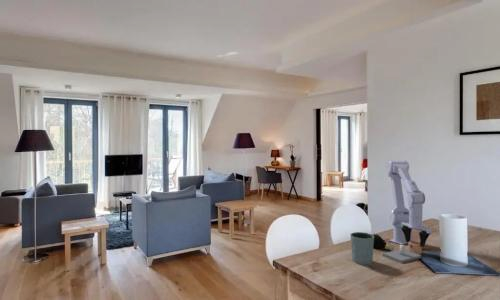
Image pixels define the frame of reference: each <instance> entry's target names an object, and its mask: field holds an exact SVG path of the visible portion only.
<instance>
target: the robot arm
mask: <svg viewBox="0 0 500 300" xmlns="http://www.w3.org/2000/svg"><path fill="white" fill-rule="evenodd" d="M409 164H410V163H409V162H408V161H407V160H389V161H388V162H387V165H386V170H387V176H388V177H389V178H390V179H391V180H390V181H391V186H392V187H391V188H392V193H393V194H392V196H393V203H394V207H393V209H391V210H390V212H389V220H390V223H391V225H393V229H392V230H393V232H392V233H393V238H391V239H389V242H392V243H397V244H399V245H407V244H408V245H409V241H413V230H416V231H419V232H418V236H419V241H420V246H421V247H422V248H423V247H425V246H426V243H427V239H428V238H429V236H430V235H431V233H432V228H430V227H427V226H424V225H423V205H424V204H425V202H426V195H425V193H424V192H423V191H422V190H420V189H419V187H418V186H417V184H416V182H415V181H414V180H412V178H411V176H410V173H409V170H410V165H409ZM402 182H403V183H402ZM403 188H404V190H405V192H406V194H407V197H406V199H407V204H408V208H407V207H406V206H405V199H404V198H405V197H404V193H403V191H404V190H403Z"/></svg>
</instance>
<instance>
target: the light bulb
mask: <svg viewBox="0 0 500 300" xmlns="http://www.w3.org/2000/svg"><path fill="white" fill-rule="evenodd" d="M372 235H373V236H374V244H373V249H374V248H376V249H386V250H387V251H389V252H391V251H394V246H393V245H391V244H389V243H388V242H386V241H385V239H384V238H382V237H381V236H380V235H379V234H372Z"/></svg>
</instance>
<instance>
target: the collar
mask: <svg viewBox="0 0 500 300" xmlns="http://www.w3.org/2000/svg"><path fill="white" fill-rule="evenodd" d="M407 248H408V250H407V251H410V252H413V253H416V254H419V255H422V254H421V253H422V251H423V250H422V249H423V247H421V246H420V242H419V241H417V240H416V241H415V240H412V241H409V243H408V247H407Z"/></svg>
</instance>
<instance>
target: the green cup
mask: <svg viewBox="0 0 500 300" xmlns="http://www.w3.org/2000/svg"><path fill="white" fill-rule="evenodd" d="M349 235H350V244H351V247H350V248H351V257H352V259H351V260H352V262H353V263H355V264H358V265H362V266H368V265H372V264H373V255H374V247H373V244H374V236H373V235H374V234H372V233H368V232H362V231H361V232H359V231H358V232H352V233H350V234H349Z"/></svg>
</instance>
